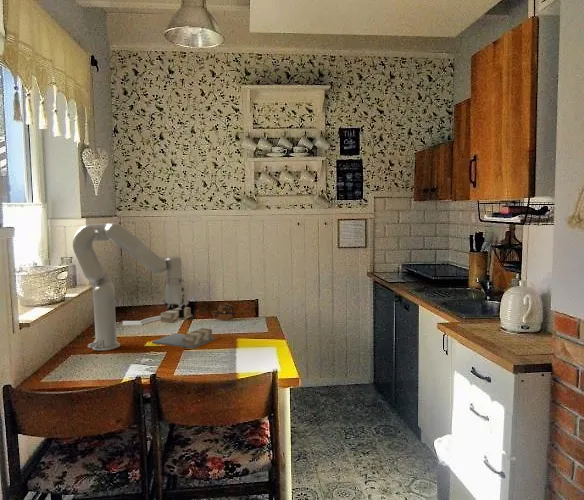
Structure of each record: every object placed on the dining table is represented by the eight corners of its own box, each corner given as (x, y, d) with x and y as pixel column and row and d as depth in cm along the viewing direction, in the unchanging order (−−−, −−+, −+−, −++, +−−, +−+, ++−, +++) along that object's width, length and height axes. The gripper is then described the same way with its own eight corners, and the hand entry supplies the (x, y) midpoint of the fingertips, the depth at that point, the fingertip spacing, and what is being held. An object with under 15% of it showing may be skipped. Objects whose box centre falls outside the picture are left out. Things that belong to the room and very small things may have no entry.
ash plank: (172, 323, 241) (172, 313, 241) (161, 322, 244) (160, 313, 244) (192, 316, 256) (192, 307, 255) (181, 315, 259) (181, 307, 258)
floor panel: (193, 348, 236) (193, 346, 236) (152, 343, 246) (152, 341, 246) (214, 339, 252) (214, 337, 252) (175, 335, 263) (175, 333, 263)
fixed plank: (192, 345, 237) (192, 336, 237) (182, 344, 240) (182, 335, 239) (212, 337, 251) (211, 329, 251) (202, 336, 254) (201, 328, 254)
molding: (183, 314, 319) (183, 310, 318) (193, 317, 310) (193, 312, 310) (119, 325, 290) (119, 320, 290) (128, 328, 281) (128, 323, 281)
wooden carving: (210, 320, 296) (209, 304, 295) (213, 319, 301) (212, 302, 300) (236, 321, 293) (236, 304, 292) (239, 319, 297) (238, 303, 296)
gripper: (193, 281, 249) (194, 316, 250) (165, 279, 256) (167, 314, 257) (183, 283, 242) (185, 319, 243) (155, 281, 249) (157, 317, 251)
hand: (176, 316), depth 250 cm, fingers closed on ash plank, 6 cm apart
